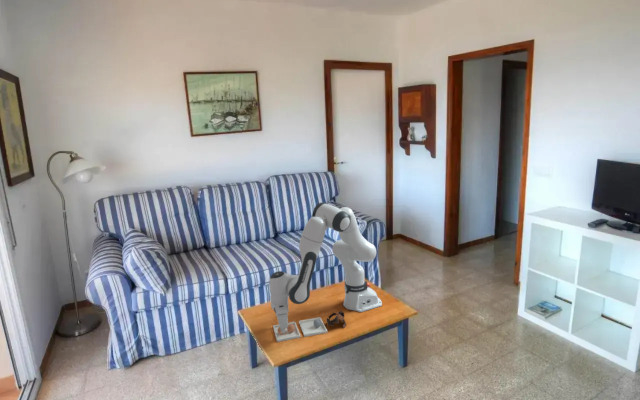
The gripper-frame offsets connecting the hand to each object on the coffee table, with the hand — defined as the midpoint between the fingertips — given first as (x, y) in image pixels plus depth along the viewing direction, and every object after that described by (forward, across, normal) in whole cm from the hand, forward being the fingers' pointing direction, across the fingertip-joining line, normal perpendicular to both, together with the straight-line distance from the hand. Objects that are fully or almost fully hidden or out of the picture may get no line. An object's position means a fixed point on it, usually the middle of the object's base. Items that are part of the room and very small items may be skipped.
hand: (281, 327), depth 199 cm
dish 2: (+4, 0, +16) cm, 17 cm away
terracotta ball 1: (+3, 0, 0) cm, 3 cm away
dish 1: (+4, 0, +2) cm, 4 cm away
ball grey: (+3, 0, +19) cm, 19 cm away
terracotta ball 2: (+3, 0, +5) cm, 6 cm away
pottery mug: (+4, +1, +30) cm, 30 cm away
